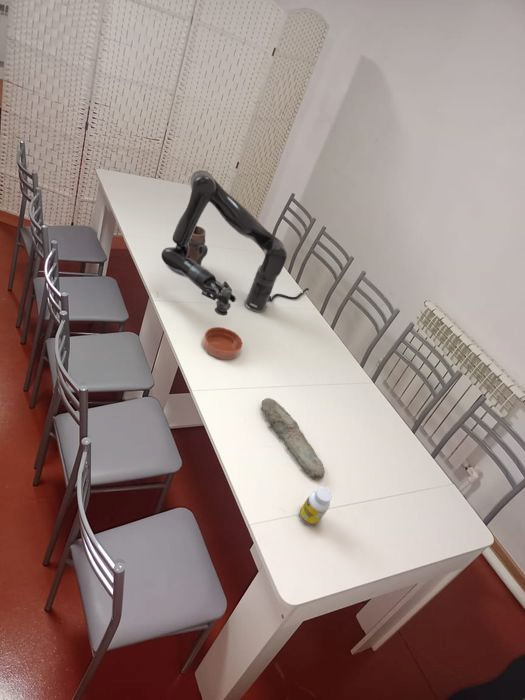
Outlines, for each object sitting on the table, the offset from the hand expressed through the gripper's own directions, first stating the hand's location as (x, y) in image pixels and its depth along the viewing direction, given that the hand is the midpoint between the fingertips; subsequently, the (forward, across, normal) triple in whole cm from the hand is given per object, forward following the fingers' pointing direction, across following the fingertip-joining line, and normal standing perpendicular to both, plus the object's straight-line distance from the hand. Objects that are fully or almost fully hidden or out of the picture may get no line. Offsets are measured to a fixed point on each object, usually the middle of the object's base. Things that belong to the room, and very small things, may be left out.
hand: (231, 301), depth 189 cm
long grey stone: (+53, -18, +17) cm, 58 cm away
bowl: (+6, -4, +18) cm, 19 cm away
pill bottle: (+75, -37, +17) cm, 85 cm away
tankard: (-43, +22, +18) cm, 51 cm away
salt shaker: (-3, 0, +7) cm, 8 cm away
